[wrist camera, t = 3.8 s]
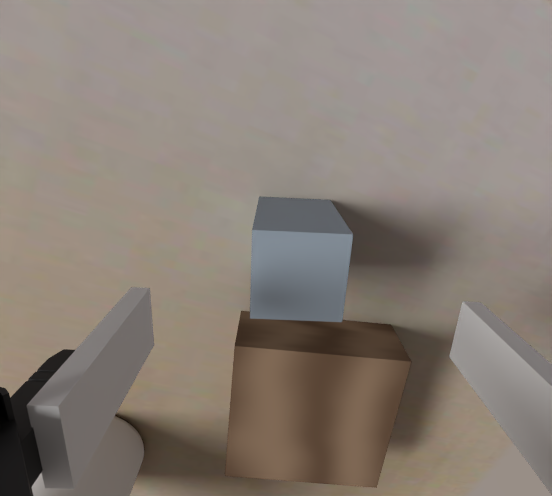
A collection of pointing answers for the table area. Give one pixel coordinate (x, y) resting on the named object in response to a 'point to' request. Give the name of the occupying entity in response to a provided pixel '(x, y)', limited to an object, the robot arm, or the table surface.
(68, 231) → the table surface
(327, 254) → the block
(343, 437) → the walnut box
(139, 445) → the milk bottle
